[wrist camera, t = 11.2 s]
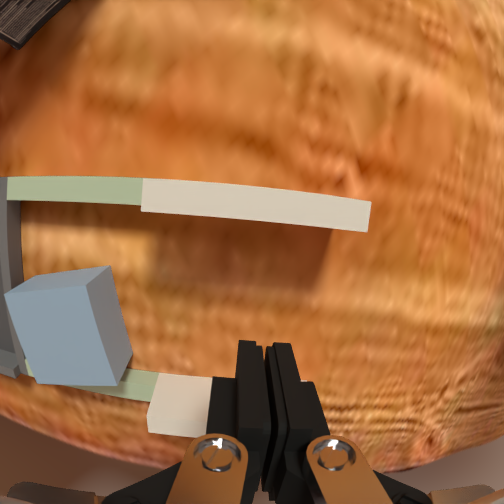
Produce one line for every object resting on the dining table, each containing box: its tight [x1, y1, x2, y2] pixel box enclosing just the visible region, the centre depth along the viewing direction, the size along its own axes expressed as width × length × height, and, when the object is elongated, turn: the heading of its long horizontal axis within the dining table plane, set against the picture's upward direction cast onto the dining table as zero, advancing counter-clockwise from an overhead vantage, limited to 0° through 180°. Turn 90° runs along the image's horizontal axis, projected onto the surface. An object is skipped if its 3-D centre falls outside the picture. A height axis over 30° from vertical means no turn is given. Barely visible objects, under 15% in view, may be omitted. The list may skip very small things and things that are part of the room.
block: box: [4, 265, 133, 386], centre depth 16 cm, size 6×6×4 cm
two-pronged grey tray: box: [0, 176, 371, 438], centre depth 16 cm, size 29×14×4 cm, turn 84°
